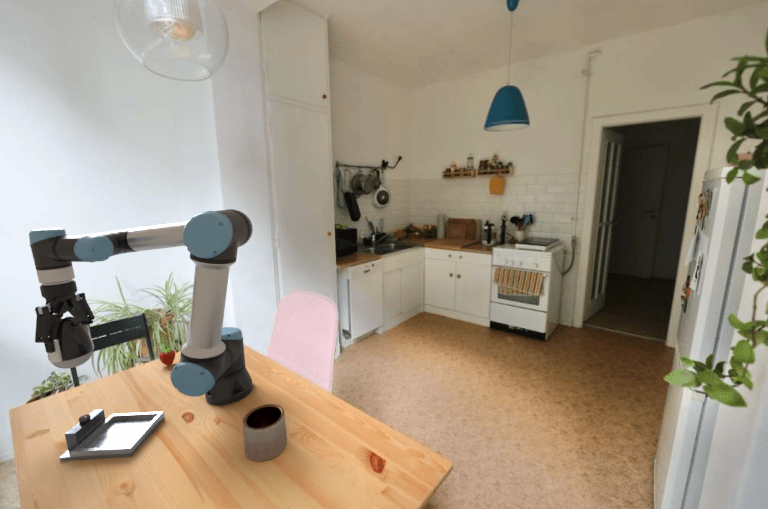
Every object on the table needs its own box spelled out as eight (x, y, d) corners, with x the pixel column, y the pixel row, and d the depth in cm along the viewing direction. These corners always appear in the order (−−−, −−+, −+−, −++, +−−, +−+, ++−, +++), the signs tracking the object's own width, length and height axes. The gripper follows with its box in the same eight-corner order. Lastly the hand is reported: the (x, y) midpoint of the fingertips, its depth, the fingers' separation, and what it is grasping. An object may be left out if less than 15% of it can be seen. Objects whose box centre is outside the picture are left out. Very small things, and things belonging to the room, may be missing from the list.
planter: (247, 469, 84) (243, 436, 82) (243, 441, 93) (240, 410, 91) (291, 453, 88) (288, 421, 87) (283, 428, 98) (280, 399, 96)
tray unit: (164, 418, 103) (161, 397, 101) (131, 456, 88) (127, 432, 87) (103, 421, 101) (99, 400, 100) (59, 460, 87) (54, 436, 85)
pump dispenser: (69, 374, 95) (58, 324, 92) (41, 371, 97) (30, 322, 94) (105, 357, 105) (96, 311, 102) (79, 354, 107) (70, 310, 104)
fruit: (164, 370, 131) (161, 351, 129) (158, 366, 134) (155, 348, 132) (179, 364, 135) (176, 345, 134) (172, 360, 138) (170, 342, 136)
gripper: (76, 272, 107) (89, 336, 111) (2, 294, 85) (21, 373, 89) (101, 271, 107) (113, 335, 112) (33, 293, 85) (51, 371, 89)
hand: (72, 352), depth 100 cm, fingers closed on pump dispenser, 10 cm apart
